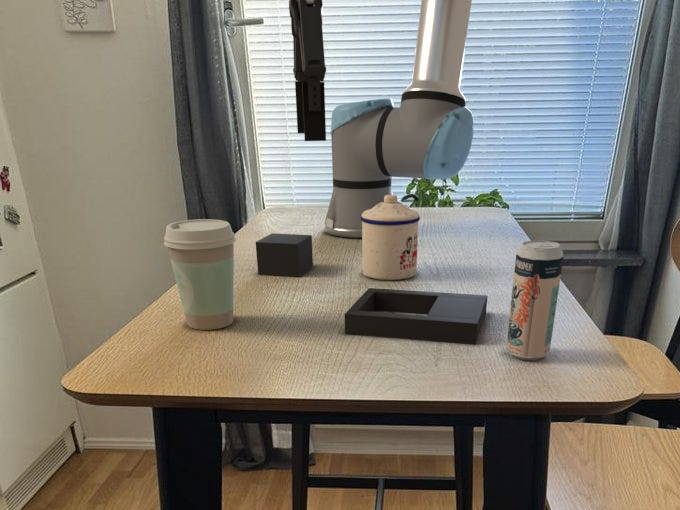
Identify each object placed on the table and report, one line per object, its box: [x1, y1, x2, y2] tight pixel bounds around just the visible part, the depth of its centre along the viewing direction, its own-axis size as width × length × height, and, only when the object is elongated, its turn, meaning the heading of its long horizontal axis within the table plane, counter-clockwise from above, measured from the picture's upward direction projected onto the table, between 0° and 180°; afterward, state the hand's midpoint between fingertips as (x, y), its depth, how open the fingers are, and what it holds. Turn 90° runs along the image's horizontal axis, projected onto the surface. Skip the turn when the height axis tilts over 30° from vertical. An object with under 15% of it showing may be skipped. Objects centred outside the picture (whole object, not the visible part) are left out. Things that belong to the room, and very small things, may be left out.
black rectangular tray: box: [344, 287, 488, 345], centre depth 85 cm, size 12×16×2 cm
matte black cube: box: [255, 232, 314, 278], centre depth 108 cm, size 7×7×5 cm
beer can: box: [505, 239, 565, 361], centre depth 72 cm, size 5×5×12 cm
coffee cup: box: [163, 218, 237, 331], centre depth 83 cm, size 8×9×12 cm
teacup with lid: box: [361, 194, 421, 281], centre depth 105 cm, size 12×9×12 cm
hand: (310, 137), depth 92 cm, fingers open, 13 cm apart
